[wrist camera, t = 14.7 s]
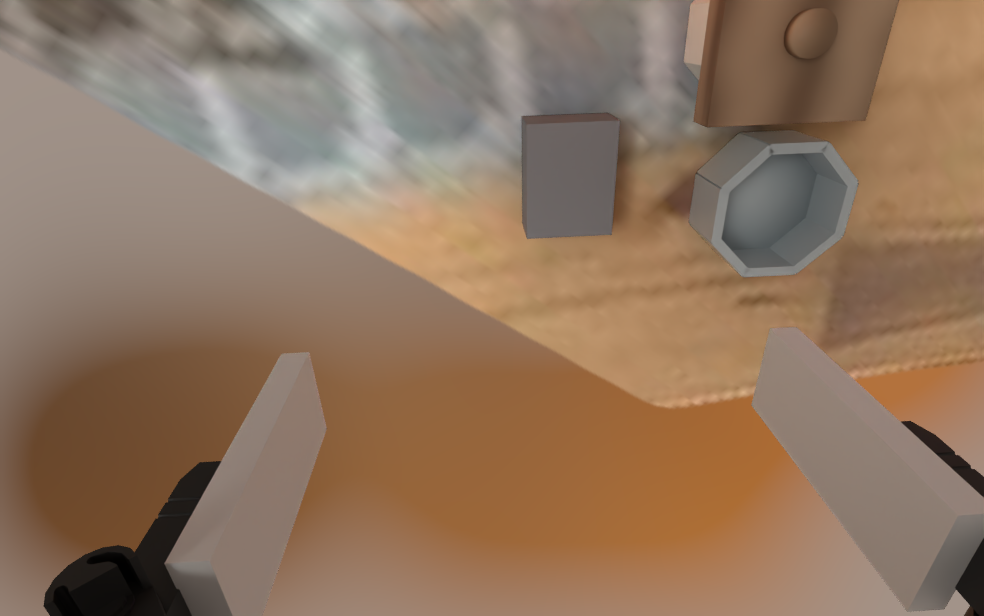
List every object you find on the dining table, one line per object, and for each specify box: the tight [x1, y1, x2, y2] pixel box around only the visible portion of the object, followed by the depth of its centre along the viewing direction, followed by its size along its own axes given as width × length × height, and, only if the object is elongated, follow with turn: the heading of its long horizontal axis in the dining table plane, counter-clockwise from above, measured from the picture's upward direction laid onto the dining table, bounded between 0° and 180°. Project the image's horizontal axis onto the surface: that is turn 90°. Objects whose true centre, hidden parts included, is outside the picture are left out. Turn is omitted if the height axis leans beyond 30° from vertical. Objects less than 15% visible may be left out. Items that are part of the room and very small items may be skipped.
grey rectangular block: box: [522, 113, 620, 239], centre depth 44 cm, size 7×9×4 cm
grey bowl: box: [689, 130, 859, 277], centre depth 45 cm, size 11×11×5 cm
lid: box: [693, 0, 899, 127], centre depth 35 cm, size 11×11×4 cm
